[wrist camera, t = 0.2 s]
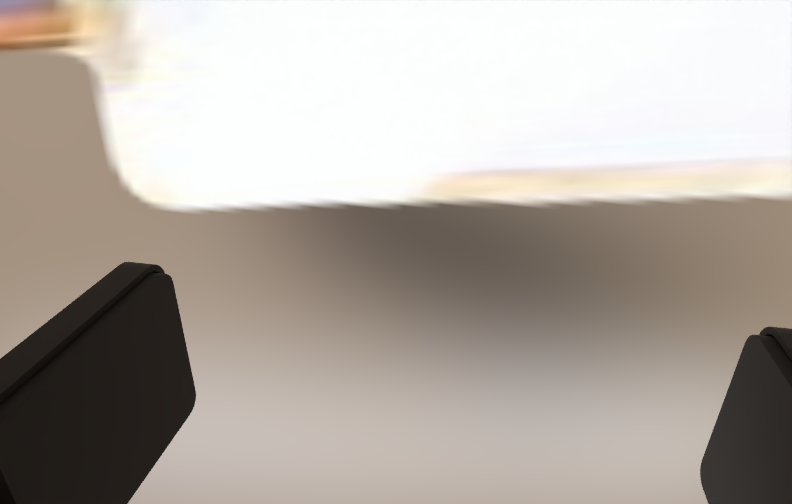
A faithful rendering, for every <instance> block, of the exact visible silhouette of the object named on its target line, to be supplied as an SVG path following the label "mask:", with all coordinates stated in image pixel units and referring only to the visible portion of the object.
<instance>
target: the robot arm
mask: <svg viewBox="0 0 792 504" xmlns="http://www.w3.org/2000/svg"><path fill="white" fill-rule="evenodd" d="M195 399H196V392H195V386H194V381H193V377H192V372H191V367H190V362H189V357H188V352H187V347H186V343H185V338H184V333H183V328H182V323H181V318H180V314H179V309H178V304H177V299H176V294H175V289H174V284H173V281H172V278H171V277H170V276H169V275H167V274H165V273H164V270H163V269H162V268H161V267H160V266H158V265H153V264H143V263H134V262H124V263H122V264H120V265H119V266H118V267H116V268H115V269H114V270H113V271H111V272H110V273H109V274H107V275H106V276H105V277H104V278H102V279H101V280H100V281H99V282H97V283H96V284H95V285H93V286H92V287H91V288H90V289H88V290H87V291H86V292H85V293H83V294H82V295H81V296H80V297H78V298H77V299H76V300H75V301H73V302H72V303H71V304H69V305H68V306H67V307H66V308H64V309H63V310H62V311H61V312H59V313H58V314H57V315H56V316H54V317H53V318H52V319H50V320H49V321H48V322H47V323H45V324H44V325H43V326H41V328H39V329H38V330H36V331H35V332H34V333H33V334H31V335H30V336H29V337H27V338H26V339H25V340H24V341H22V342H21V343H20V344H19V345H17V346H16V347H15V348H14V349H12V350H11V351H10V352H8V353H7V354H6V355H5V356H3V357H2V358H1V359H0V504H127V503H128V502H129V500H130V499H131V498H132V496H133V495H134V493H135V492H136V490H137V489H138V488H139V486H140V485H141V483H142V481H144V479H145V478H146V476H147V475H148V473H149V472H150V471H151V469H152V468H153V466H154V465H155V463H156V462H157V461H158V459H159V458H160V456H161V455H162V453H163V452H164V451H165V449H166V448H167V446H168V445H169V443H170V442H171V441H172V439H173V438H174V436H175V435H176V433H177V432H178V431H179V429H180V428H181V426H182V425H183V423H184V422H185V421H186V419H187V418H188V416H189V415H190V413H191V412H192V410H193V407H194V404H195ZM700 472H701V473H700V474H701V483H702V487H703V490H704V492H705V495H706V498H707V501H708V503H709V504H792V329H787V328H777V327H766V328H764V329H763V330H762V331H761V332H760V334H759V335H751V336H749V338H748V339H747V341H746V342H745V345H744V348H743V350H742V353H741V356H740V359H739V361H738V364H737V367H736V369H735V372H734V375H733V377H732V380H731V383H730V386H729V388H728V391H727V394H726V397H725V399H724V402H723V405H722V408H721V410H720V413H719V416H718V419H717V421H716V424H715V426H714V430H713V432H712V435H711V437H710V440H709V443H708V446H707V449H706V451H705V454H704V457H703V459H702V463H701V470H700Z"/></svg>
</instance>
